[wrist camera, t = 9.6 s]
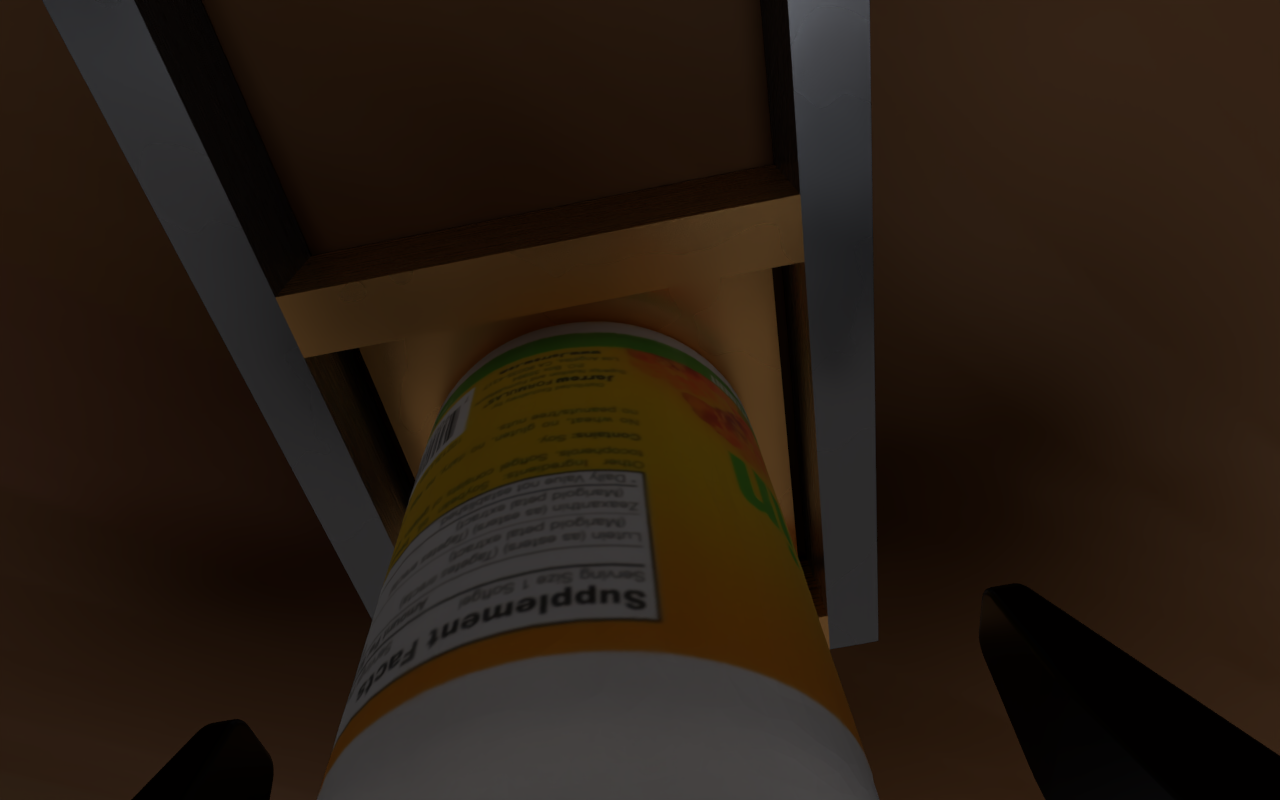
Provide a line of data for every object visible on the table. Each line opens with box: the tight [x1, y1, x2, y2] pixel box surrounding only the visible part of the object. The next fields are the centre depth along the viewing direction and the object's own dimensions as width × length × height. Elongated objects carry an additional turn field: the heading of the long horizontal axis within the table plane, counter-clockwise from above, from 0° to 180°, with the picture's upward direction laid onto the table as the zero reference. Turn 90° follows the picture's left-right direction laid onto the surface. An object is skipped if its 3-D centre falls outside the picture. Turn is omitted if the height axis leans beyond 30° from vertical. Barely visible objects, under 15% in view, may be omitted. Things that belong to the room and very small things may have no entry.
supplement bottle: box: [317, 321, 879, 800], centre depth 9 cm, size 5×5×10 cm
